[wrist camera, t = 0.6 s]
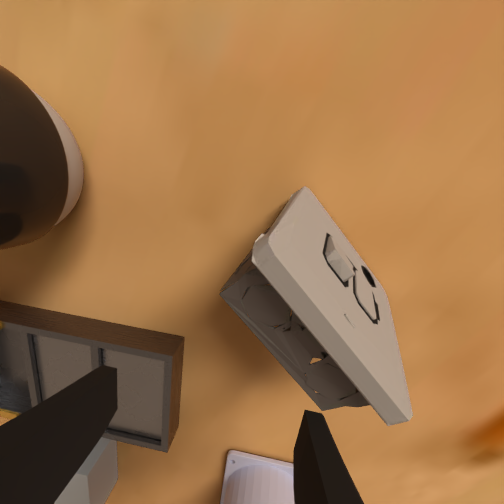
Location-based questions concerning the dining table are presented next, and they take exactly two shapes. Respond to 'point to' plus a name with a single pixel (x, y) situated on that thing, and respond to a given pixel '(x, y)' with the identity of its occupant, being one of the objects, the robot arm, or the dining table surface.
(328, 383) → the electrical switch
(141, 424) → the rack
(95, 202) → the dining table surface
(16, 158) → the dark egg shaped ornament
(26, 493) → the robot arm
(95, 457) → the grey rectangular block
